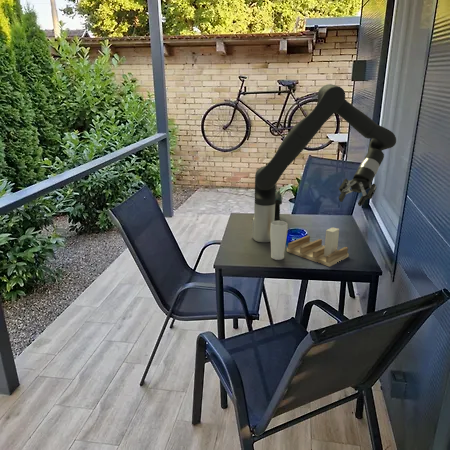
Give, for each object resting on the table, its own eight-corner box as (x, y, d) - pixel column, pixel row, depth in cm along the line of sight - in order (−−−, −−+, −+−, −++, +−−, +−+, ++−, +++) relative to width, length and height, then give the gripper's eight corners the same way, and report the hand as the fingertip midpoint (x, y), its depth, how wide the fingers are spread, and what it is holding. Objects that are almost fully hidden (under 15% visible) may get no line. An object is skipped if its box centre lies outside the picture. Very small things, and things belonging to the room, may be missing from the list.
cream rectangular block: (323, 255, 159) (326, 230, 155) (330, 252, 162) (332, 227, 159) (330, 257, 157) (332, 232, 153) (336, 254, 160) (339, 229, 157)
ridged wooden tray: (286, 251, 167) (287, 242, 166) (306, 243, 176) (306, 234, 175) (329, 266, 152) (330, 257, 151) (348, 256, 162) (349, 247, 160)
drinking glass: (273, 262, 157) (274, 226, 152) (266, 255, 163) (267, 221, 158) (288, 260, 158) (290, 225, 154) (281, 253, 165) (283, 219, 160)
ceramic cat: (281, 226, 198) (283, 187, 191) (268, 226, 198) (270, 187, 192) (277, 214, 217) (279, 179, 210) (265, 214, 217) (266, 179, 210)
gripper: (348, 163, 167) (331, 194, 163) (380, 168, 157) (363, 201, 154) (353, 174, 172) (337, 204, 169) (385, 179, 163) (368, 211, 159)
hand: (349, 202), depth 161 cm, fingers open, 8 cm apart
